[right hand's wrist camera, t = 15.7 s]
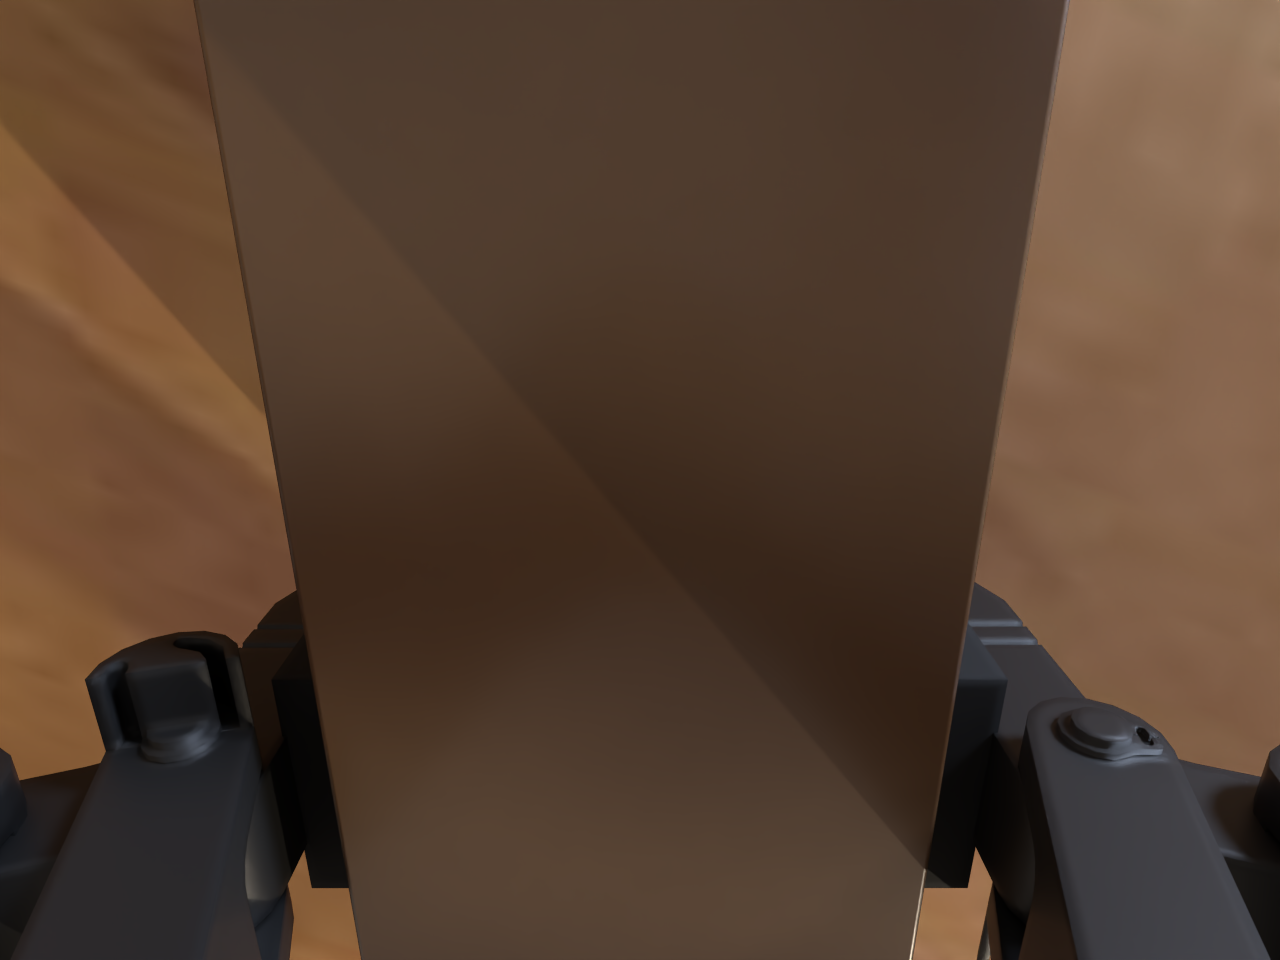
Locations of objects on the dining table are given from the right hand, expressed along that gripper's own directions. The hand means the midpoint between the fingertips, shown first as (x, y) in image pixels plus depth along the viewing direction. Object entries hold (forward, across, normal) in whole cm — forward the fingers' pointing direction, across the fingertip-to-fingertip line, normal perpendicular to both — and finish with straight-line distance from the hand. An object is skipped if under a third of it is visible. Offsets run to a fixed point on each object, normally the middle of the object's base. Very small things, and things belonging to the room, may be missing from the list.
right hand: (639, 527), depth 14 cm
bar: (+1, 0, -22) cm, 22 cm away
